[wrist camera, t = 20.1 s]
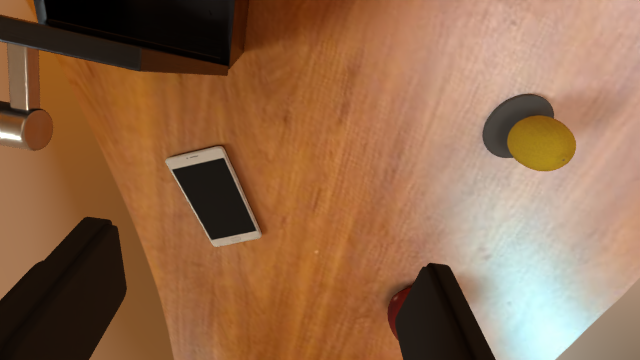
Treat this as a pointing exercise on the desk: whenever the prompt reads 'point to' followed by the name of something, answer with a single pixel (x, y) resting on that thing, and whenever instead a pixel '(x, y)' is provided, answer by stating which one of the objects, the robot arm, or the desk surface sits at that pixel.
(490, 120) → the coaster
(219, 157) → the smartphone
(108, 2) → the black open square box
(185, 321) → the desk surface
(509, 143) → the lemon
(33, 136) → the lid
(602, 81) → the desk surface
